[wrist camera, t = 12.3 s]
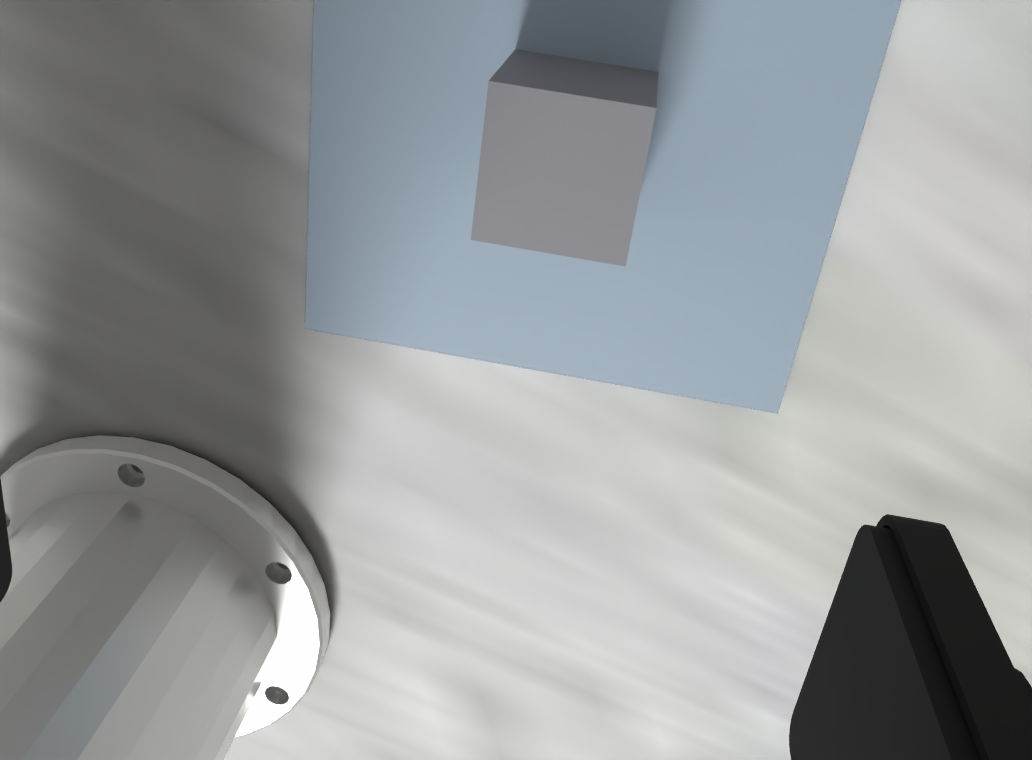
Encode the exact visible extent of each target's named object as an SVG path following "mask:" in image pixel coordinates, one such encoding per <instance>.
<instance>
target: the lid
mask: <svg viewBox="0 0 1032 760" xmlns="http://www.w3.org/2000/svg"><path fill="white" fill-rule="evenodd" d="M900 3H901V0H314V8H313V44H312V81H311V117H310V154H309V191H308V227H307V264H306V301H305V329H309V330H315V331H320V332H326V333H332V334H337V335H343V336H348V337H354V338H359V339H365V340H370V341H376V342H382V343H387V344H393V345H398V346H404V347H409V348H415V349H421V350H426V351H432V352H437V353H443V354H448V355H454V356H460V357H465V358H471V359H476V360H482V361H487V362H493V363H498V364H504V365H510V366H515V367H521V368H526V369H532V370H537V371H543V372H549V373H554V374H560V375H565V376H571V377H576V378H582V379H587V380H593V381H599V382H604V383H610V384H615V385H621V386H626V387H632V388H638V389H643V390H649V391H654V392H660V393H665V394H671V395H677V396H682V397H688V398H693V399H699V400H704V401H710V402H715V403H721V404H727V405H732V406H738V407H743V408H749V409H754V410H760V411H766V412H771V413H777V414H778V411H779V408H780V405H781V401H782V398H783V395H784V391H785V388H786V384H787V381H788V378H789V374H790V371H791V368H792V364H793V361H794V358H795V354H796V351H797V348H798V344H799V341H800V338H801V334H802V331H803V328H804V324H805V321H806V318H807V314H808V311H809V307H810V304H811V301H812V297H813V294H814V291H815V287H816V284H817V281H818V277H819V274H820V271H821V267H822V264H823V261H824V257H825V254H826V251H827V247H828V244H829V241H830V237H831V234H832V231H833V227H834V224H835V220H836V217H837V214H838V210H839V207H840V204H841V200H842V197H843V194H844V190H845V187H846V184H847V180H848V177H849V174H850V170H851V167H852V164H853V160H854V157H855V154H856V150H857V147H858V144H859V140H860V137H861V133H862V130H863V127H864V123H865V120H866V117H867V113H868V110H869V107H870V103H871V100H872V97H873V93H874V90H875V87H876V83H877V80H878V77H879V73H880V70H881V67H882V63H883V60H884V56H885V53H886V50H887V46H888V43H889V40H890V36H891V33H892V30H893V26H894V23H895V20H896V16H897V13H898V10H899V6H900Z"/></svg>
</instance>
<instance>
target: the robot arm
mask: <svg viewBox="0 0 1032 760" xmlns="http://www.w3.org/2000/svg"><path fill="white" fill-rule="evenodd" d="M329 630H330V610H329V605H328V599H327V594H326V589H325V585H324V583H323V580H322V578H321V575H320V573H319V571H318V568H317V566H316V564H315V561H314V559H313V557H312V555H311V554H310V552H309V551H308V549H307V548H306V546H305V545H304V543H303V542H302V540H301V539H300V537H299V536H298V534H297V533H296V531H295V530H294V528H293V527H292V526H291V525H290V524H289V523H288V522H287V521H286V520H285V519H284V518H283V517H282V515H281V514H280V513H279V512H278V511H277V510H276V509H275V508H274V507H273V506H272V505H271V504H270V503H269V502H268V501H267V500H266V499H264V498H263V497H262V496H261V495H259V494H258V493H257V492H255V491H254V490H253V489H252V488H250V487H249V486H248V485H247V484H245V483H244V482H243V481H242V480H240V479H239V478H237V477H235V476H233V475H232V474H230V473H228V472H226V471H225V470H223V469H221V468H220V467H218V466H216V465H214V464H213V463H211V462H209V461H207V460H205V459H203V458H200V457H198V456H195V455H193V454H190V453H187V452H185V451H182V450H180V449H177V448H175V447H172V446H169V445H165V444H160V443H156V442H152V441H147V440H143V439H139V438H134V437H118V436H102V435H97V436H89V437H80V438H72V439H65V440H62V441H59V442H56V443H53V444H50V445H47V446H44V447H41V448H38V449H36V450H35V451H33V452H32V453H30V454H28V455H27V456H25V457H24V458H22V459H20V460H19V461H17V462H16V463H14V464H13V465H12V466H11V467H10V468H9V469H8V470H7V471H6V472H4V473H3V474H2V475H1V476H0V760H223V759H224V757H225V755H226V753H227V751H228V749H229V747H230V745H231V743H232V741H233V739H234V737H238V736H242V735H247V734H250V733H252V732H255V731H257V730H259V729H262V728H264V727H267V726H269V725H271V724H273V723H274V722H276V721H277V720H279V719H280V718H281V717H283V716H284V715H286V714H287V713H289V712H290V711H291V710H293V708H294V707H295V706H296V705H297V704H298V703H299V701H300V700H301V699H302V698H303V697H304V696H305V694H306V693H307V692H308V691H309V689H310V687H311V685H312V682H313V680H314V678H315V676H316V674H317V672H318V670H319V668H320V666H321V664H322V661H323V658H324V654H325V651H326V648H327V645H328V642H329ZM789 746H790V754H791V760H1032V687H1031V685H1030V684H1029V682H1028V681H1027V679H1026V678H1025V676H1024V675H1023V673H1022V672H1020V671H1018V670H1017V669H1015V668H1014V667H1013V665H1012V663H1011V660H1010V658H1009V656H1008V654H1007V652H1006V650H1005V648H1004V646H1003V644H1002V641H1001V639H1000V637H999V635H998V633H997V631H996V629H995V627H994V625H993V623H992V620H991V618H990V616H989V614H988V612H987V610H986V608H985V606H984V604H983V601H982V599H981V597H980V595H979V593H978V591H977V589H976V587H975V585H974V583H973V580H972V578H971V576H970V574H969V572H968V570H967V568H966V566H965V564H964V562H963V559H962V557H961V555H960V553H959V551H958V549H957V547H956V545H955V543H954V540H953V538H952V536H951V534H950V532H949V530H948V529H947V528H946V526H945V525H943V524H940V523H934V522H928V521H923V520H917V519H911V518H906V517H900V516H894V515H889V514H887V515H885V516H883V517H882V518H881V520H880V521H879V522H878V524H877V526H870V525H863V526H862V527H861V528H860V529H859V531H858V533H857V535H856V537H855V540H854V543H853V546H852V549H851V552H850V554H849V557H848V560H847V563H846V566H845V568H844V571H843V574H842V577H841V580H840V582H839V585H838V588H837V591H836V594H835V596H834V599H833V602H832V605H831V608H830V610H829V613H828V616H827V619H826V622H825V624H824V627H823V630H822V633H821V636H820V638H819V641H818V644H817V647H816V650H815V652H814V655H813V658H812V661H811V664H810V666H809V669H808V672H807V675H806V678H805V681H804V683H803V686H802V689H801V692H800V695H799V697H798V700H797V703H796V706H795V709H794V711H793V715H792V719H791V724H790V734H789Z"/></svg>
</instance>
